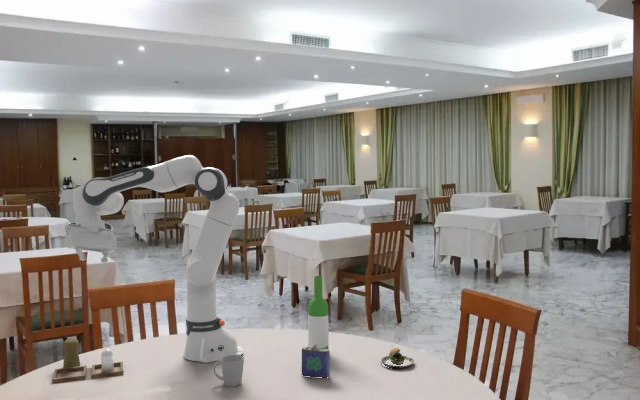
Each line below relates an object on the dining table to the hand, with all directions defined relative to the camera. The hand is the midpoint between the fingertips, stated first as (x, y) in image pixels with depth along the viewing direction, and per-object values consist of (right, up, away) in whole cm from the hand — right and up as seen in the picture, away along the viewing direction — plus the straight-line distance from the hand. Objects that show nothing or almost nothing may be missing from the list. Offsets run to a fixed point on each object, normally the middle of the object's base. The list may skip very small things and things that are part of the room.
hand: (94, 261), depth 214 cm
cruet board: (+3, -39, -12) cm, 41 cm away
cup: (+52, -39, -18) cm, 67 cm away
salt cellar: (+9, -37, -10) cm, 39 cm away
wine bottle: (+82, -37, +12) cm, 90 cm away
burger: (+110, -38, 0) cm, 117 cm away
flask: (+81, -39, -12) cm, 90 cm away
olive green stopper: (-6, -38, -5) cm, 39 cm away
